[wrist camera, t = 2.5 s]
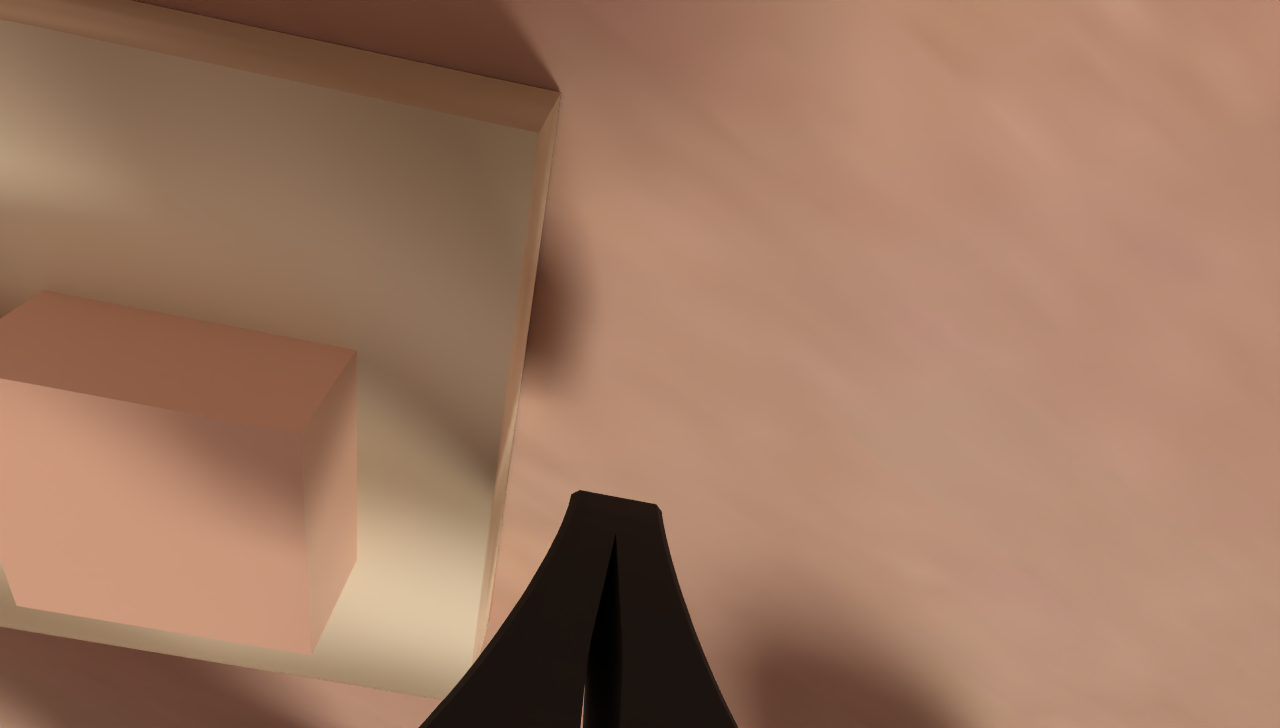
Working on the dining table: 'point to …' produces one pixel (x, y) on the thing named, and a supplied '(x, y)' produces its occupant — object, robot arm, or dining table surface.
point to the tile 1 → (175, 472)
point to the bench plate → (300, 275)
